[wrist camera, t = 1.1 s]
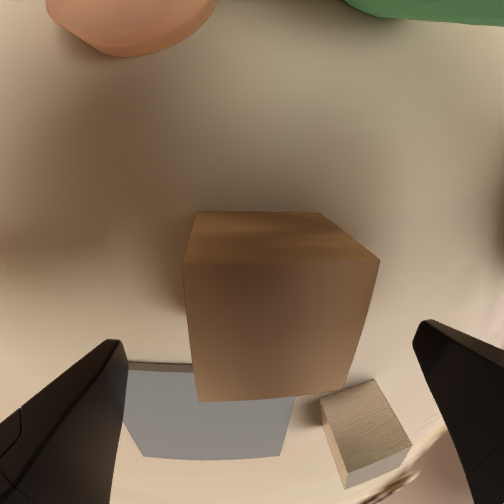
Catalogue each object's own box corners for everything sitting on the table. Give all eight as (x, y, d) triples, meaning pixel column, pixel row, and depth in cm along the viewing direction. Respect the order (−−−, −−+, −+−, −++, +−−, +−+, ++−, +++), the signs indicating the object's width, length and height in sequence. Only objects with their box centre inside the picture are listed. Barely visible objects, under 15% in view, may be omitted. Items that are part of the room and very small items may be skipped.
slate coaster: (298, 359, 14) (301, 367, 14) (278, 449, 18) (279, 455, 18) (100, 359, 13) (97, 366, 12) (144, 450, 17) (143, 456, 16)
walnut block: (318, 212, 11) (380, 259, 7) (305, 313, 13) (342, 389, 9) (197, 211, 11) (182, 263, 6) (201, 317, 13) (198, 401, 8)
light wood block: (374, 378, 16) (412, 444, 11) (370, 408, 18) (399, 466, 12) (319, 398, 16) (347, 473, 11) (322, 425, 18) (344, 489, 12)
